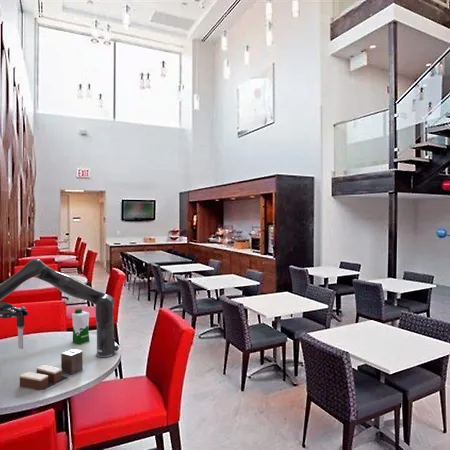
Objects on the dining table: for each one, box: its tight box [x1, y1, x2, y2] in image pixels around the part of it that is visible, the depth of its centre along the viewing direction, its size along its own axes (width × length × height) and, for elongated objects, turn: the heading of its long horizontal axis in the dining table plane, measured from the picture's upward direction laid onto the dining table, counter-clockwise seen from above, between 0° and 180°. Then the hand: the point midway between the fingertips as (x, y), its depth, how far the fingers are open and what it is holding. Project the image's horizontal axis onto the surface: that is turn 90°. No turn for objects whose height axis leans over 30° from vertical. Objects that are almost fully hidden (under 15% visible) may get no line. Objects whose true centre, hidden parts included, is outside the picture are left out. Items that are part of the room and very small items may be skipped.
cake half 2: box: [36, 364, 63, 383], centre depth 177 cm, size 12×4×5 cm, turn 65°
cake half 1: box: [19, 371, 48, 391], centre depth 170 cm, size 12×4×5 cm, turn 72°
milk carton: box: [71, 308, 90, 345], centre depth 230 cm, size 9×9×20 cm
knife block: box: [60, 348, 84, 376], centre depth 186 cm, size 7×7×10 cm
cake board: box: [41, 375, 69, 391], centre depth 176 cm, size 15×14×1 cm
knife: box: [15, 309, 25, 350], centre depth 178 cm, size 3×2×19 cm
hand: (24, 314), depth 177 cm, fingers closed on knife, 2 cm apart
